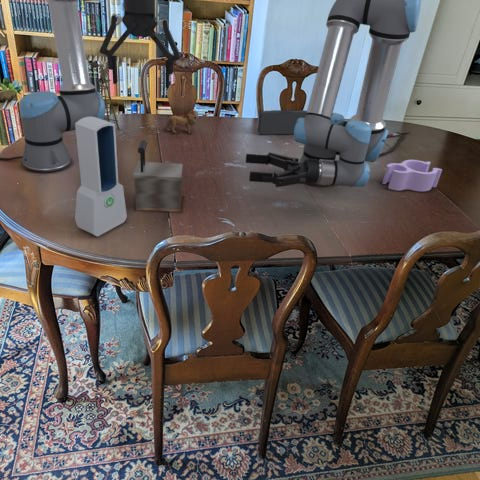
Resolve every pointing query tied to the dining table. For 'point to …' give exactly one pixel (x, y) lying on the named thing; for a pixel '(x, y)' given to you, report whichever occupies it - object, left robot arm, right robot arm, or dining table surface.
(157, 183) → the chest
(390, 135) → the sword
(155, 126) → the dining table surface
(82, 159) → the electronic device
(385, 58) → the right robot arm
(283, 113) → the handheld gaming console
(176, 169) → the lid
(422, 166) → the clip
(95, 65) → the miniature windmill
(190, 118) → the lion figurine
